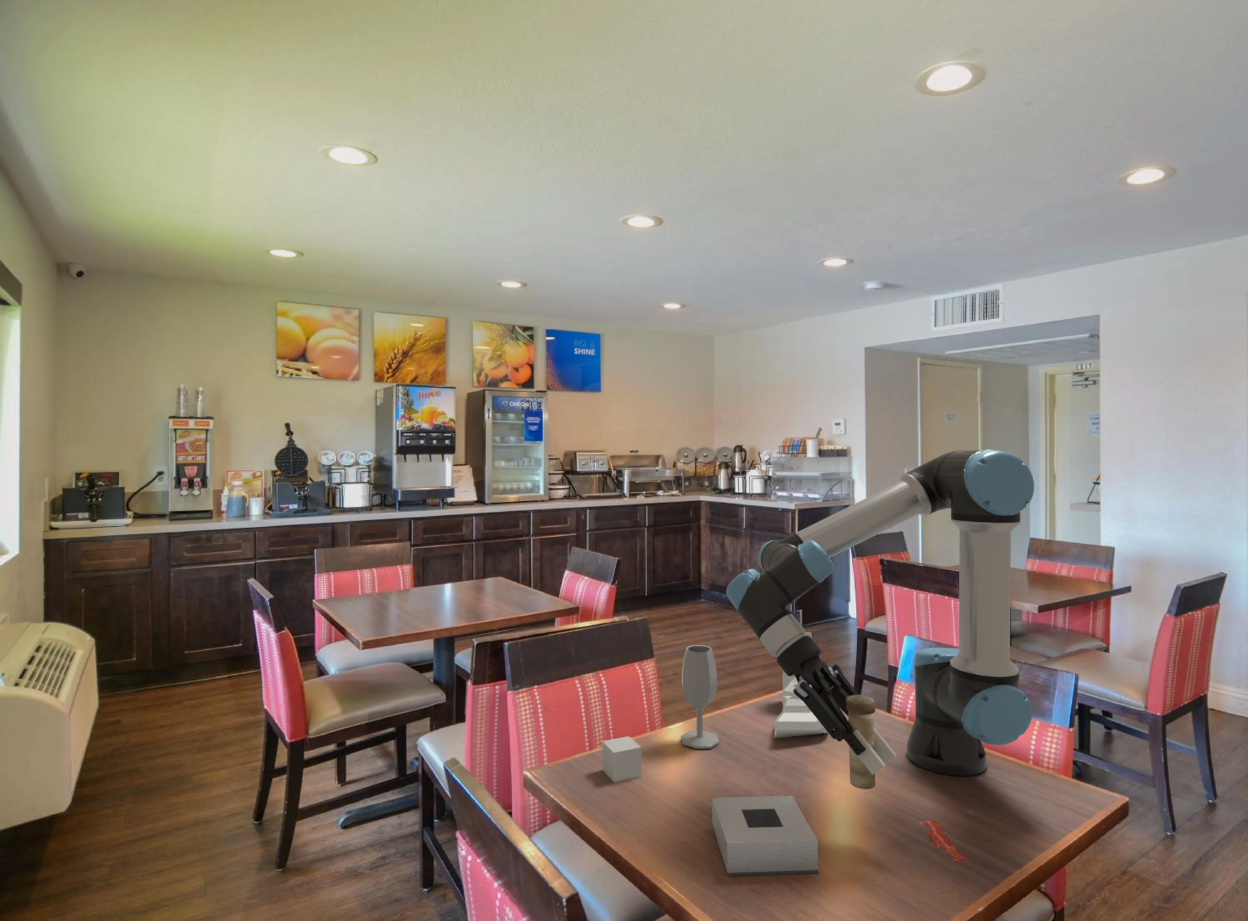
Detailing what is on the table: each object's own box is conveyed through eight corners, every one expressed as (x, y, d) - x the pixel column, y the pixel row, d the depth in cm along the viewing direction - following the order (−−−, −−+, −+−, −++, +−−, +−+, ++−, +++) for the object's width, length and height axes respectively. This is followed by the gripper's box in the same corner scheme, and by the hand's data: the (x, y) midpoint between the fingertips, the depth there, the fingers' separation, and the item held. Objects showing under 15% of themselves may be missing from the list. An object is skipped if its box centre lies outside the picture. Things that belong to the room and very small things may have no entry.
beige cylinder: (870, 776, 117) (868, 694, 117) (881, 789, 113) (879, 704, 112) (844, 777, 117) (841, 695, 117) (854, 790, 112) (851, 705, 112)
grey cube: (602, 770, 141) (602, 741, 141) (629, 764, 143) (628, 736, 143) (614, 783, 135) (613, 752, 135) (641, 776, 138) (641, 746, 138)
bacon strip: (948, 863, 108) (948, 859, 108) (908, 813, 123) (908, 810, 123) (972, 862, 108) (972, 858, 108) (929, 813, 123) (929, 809, 123)
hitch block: (792, 824, 119) (792, 795, 119) (818, 873, 105) (817, 840, 105) (712, 826, 119) (712, 797, 119) (727, 876, 105) (727, 843, 105)
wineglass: (676, 747, 151) (675, 652, 151) (685, 732, 160) (684, 641, 159) (715, 752, 148) (714, 655, 148) (722, 736, 157) (722, 644, 157)
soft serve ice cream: (756, 734, 162) (755, 671, 165) (815, 734, 164) (813, 672, 168) (778, 742, 150) (776, 674, 153) (841, 742, 152) (838, 675, 156)
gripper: (801, 647, 131) (889, 758, 120) (753, 670, 119) (846, 795, 108) (826, 624, 128) (920, 736, 117) (779, 644, 115) (879, 772, 104)
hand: (884, 764), depth 112 cm, fingers closed on beige cylinder, 4 cm apart
